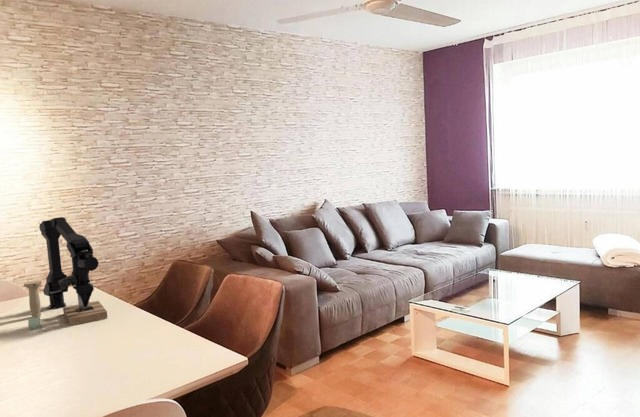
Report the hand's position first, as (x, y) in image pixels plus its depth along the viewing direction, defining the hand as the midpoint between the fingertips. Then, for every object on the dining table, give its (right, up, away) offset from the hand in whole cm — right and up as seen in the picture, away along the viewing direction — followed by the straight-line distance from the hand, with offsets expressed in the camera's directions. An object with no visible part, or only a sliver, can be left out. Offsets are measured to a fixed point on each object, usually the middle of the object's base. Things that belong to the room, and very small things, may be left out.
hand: (83, 304), depth 203 cm
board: (0, -5, 0) cm, 5 cm away
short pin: (-13, -7, -12) cm, 19 cm away
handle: (-22, -6, +3) cm, 23 cm away
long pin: (0, -5, 0) cm, 5 cm away
